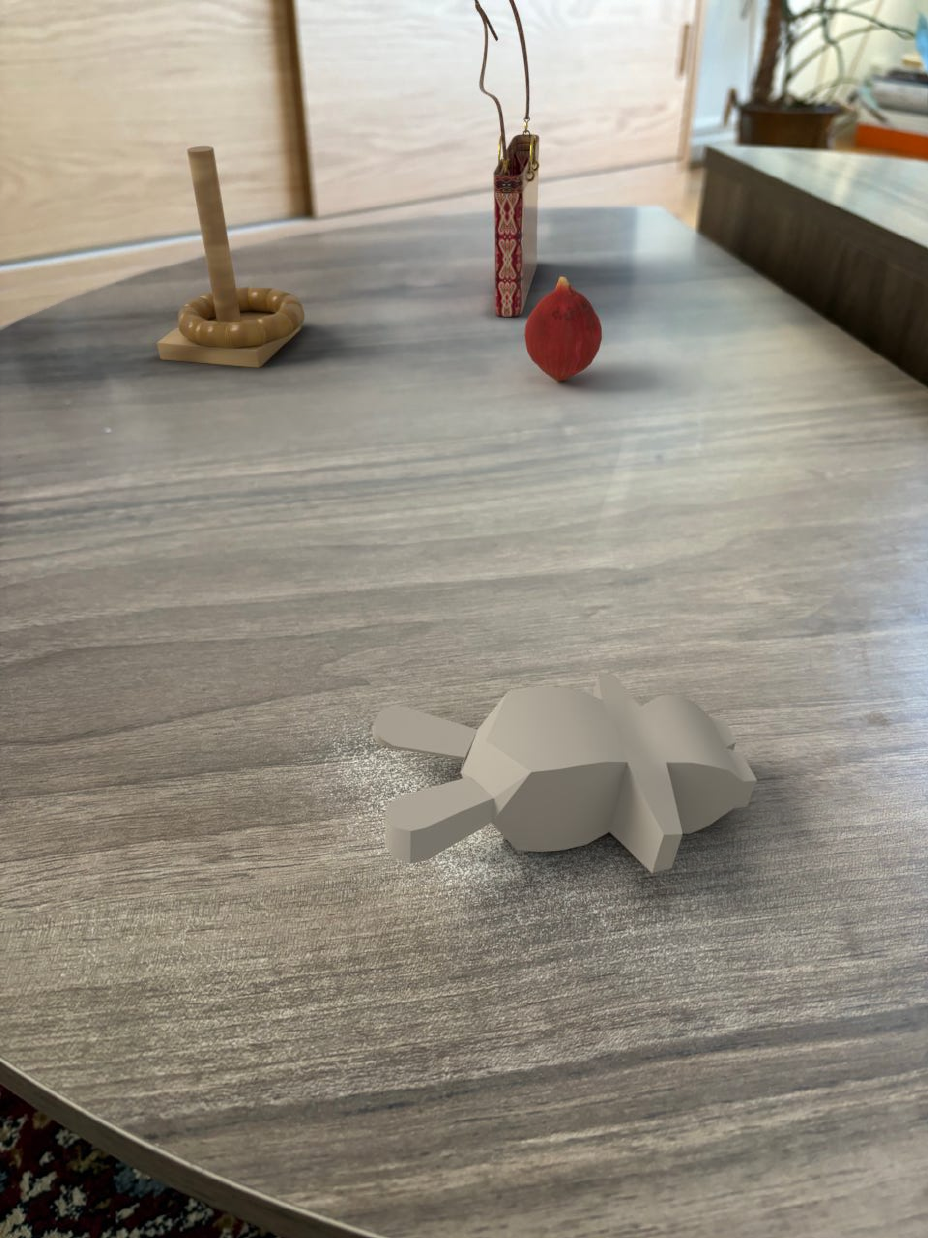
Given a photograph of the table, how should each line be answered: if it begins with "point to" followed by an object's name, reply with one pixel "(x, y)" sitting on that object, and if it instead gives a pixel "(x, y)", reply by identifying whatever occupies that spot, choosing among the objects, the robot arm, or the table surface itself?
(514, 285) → the handbag
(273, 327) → the ring
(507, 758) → the bunny figurine
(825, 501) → the table surface
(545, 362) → the onion
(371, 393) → the table surface
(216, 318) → the stand
